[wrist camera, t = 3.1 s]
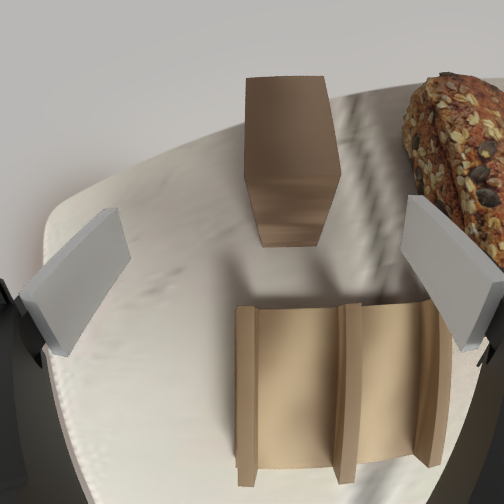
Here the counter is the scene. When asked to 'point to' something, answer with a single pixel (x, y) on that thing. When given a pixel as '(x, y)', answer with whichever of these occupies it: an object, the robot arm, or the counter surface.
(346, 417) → the divided tray
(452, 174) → the bread
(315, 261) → the counter surface
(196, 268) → the counter surface
